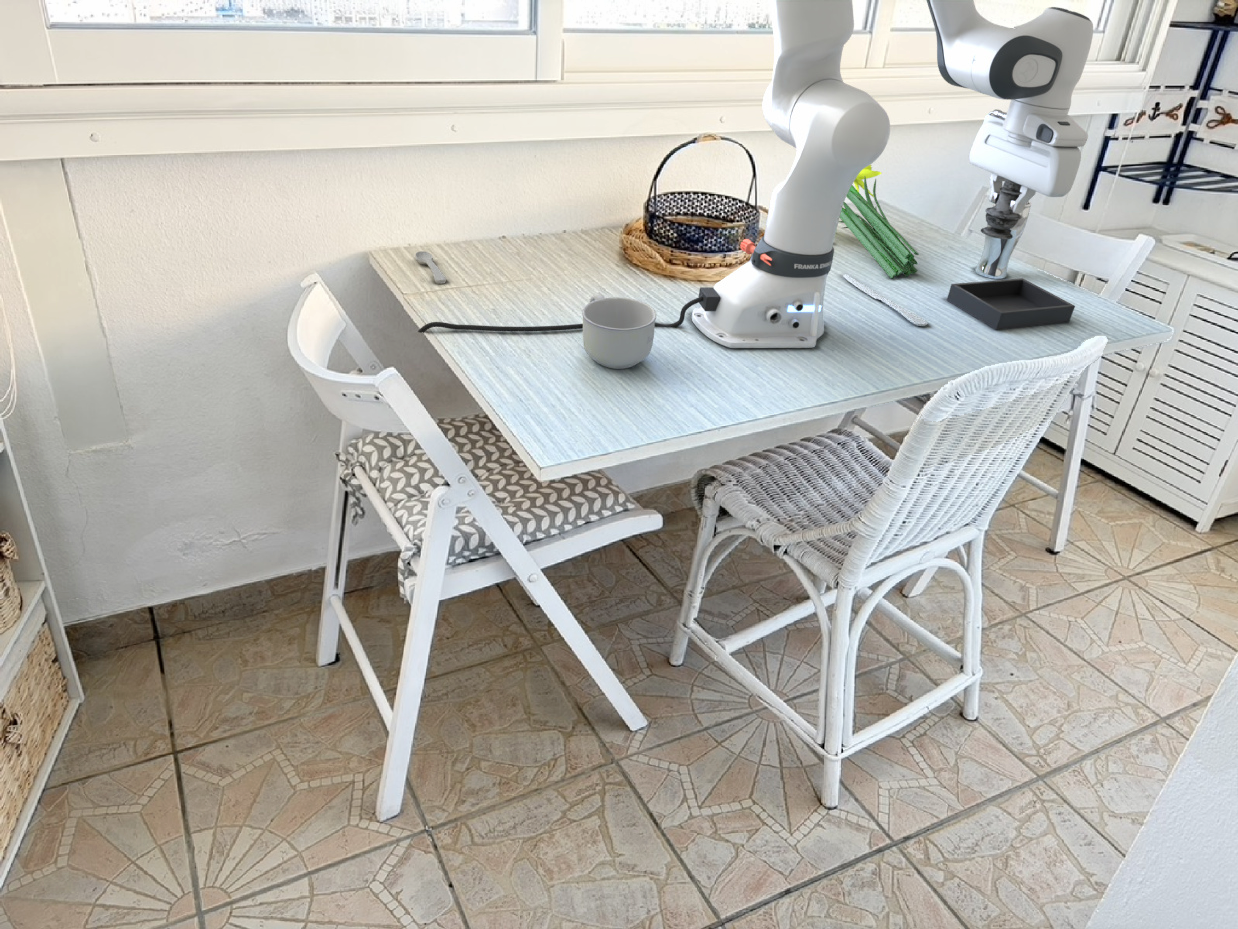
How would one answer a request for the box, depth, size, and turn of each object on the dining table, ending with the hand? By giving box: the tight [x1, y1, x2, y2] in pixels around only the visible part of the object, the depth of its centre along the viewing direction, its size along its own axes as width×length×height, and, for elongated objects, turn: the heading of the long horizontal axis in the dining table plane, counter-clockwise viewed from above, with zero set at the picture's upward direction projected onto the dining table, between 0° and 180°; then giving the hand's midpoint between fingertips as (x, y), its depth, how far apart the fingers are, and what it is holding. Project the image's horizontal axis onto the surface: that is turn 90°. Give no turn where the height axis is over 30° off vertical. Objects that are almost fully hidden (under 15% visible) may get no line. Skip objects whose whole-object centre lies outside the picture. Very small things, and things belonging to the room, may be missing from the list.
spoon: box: [414, 250, 447, 285], centre depth 161 cm, size 3×12×2 cm, turn 27°
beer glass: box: [974, 200, 1032, 280], centre depth 183 cm, size 7×7×15 cm
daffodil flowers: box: [838, 164, 920, 280], centre depth 189 cm, size 17×15×35 cm
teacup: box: [581, 293, 657, 370], centre depth 137 cm, size 14×11×8 cm
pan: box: [946, 277, 1076, 331], centre depth 169 cm, size 17×13×3 cm
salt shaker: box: [980, 179, 1022, 239], centre depth 153 cm, size 6×6×12 cm
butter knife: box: [842, 273, 929, 327], centre depth 169 cm, size 1×24×3 cm
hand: (1005, 207), depth 154 cm, fingers closed on salt shaker, 3 cm apart
